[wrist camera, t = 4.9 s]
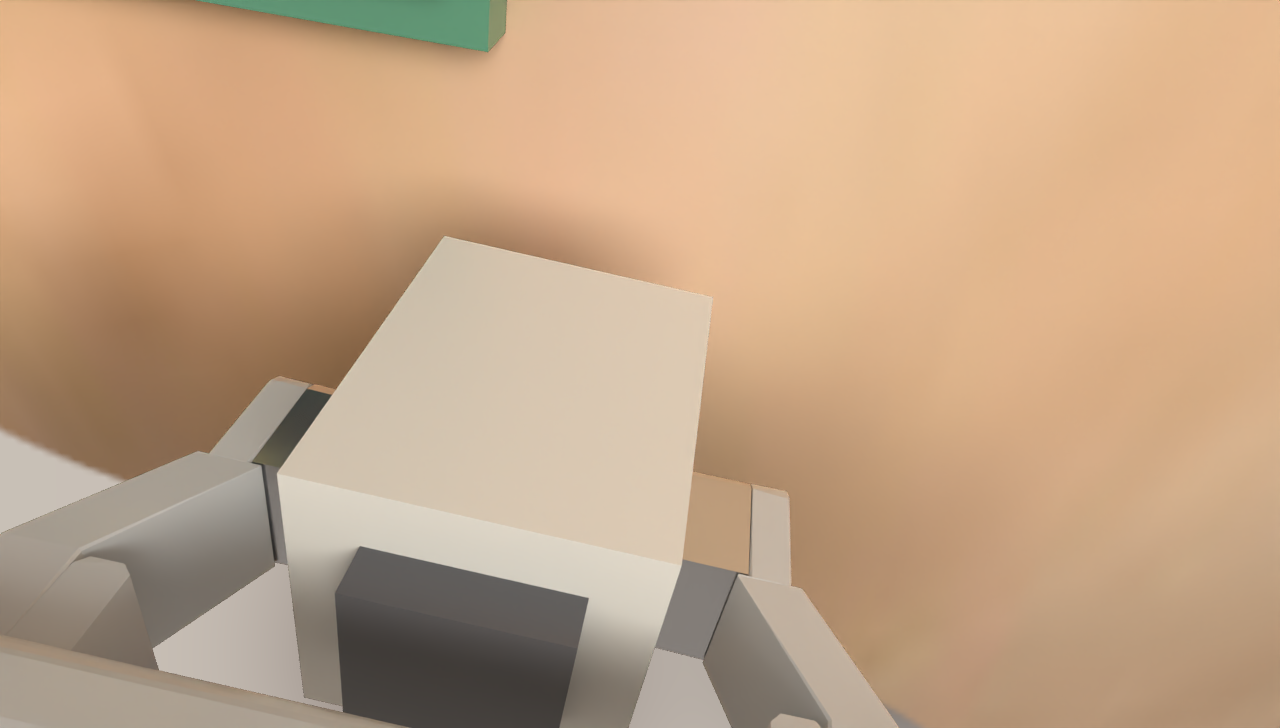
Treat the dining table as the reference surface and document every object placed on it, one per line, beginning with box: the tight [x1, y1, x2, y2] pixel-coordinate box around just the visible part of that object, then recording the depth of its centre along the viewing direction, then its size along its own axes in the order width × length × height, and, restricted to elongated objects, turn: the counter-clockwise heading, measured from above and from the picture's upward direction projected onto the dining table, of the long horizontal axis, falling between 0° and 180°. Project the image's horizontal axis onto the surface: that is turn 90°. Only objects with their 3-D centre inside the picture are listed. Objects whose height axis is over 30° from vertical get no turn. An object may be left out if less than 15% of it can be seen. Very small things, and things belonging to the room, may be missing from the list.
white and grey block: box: [277, 236, 713, 728], centre depth 11 cm, size 4×5×6 cm
